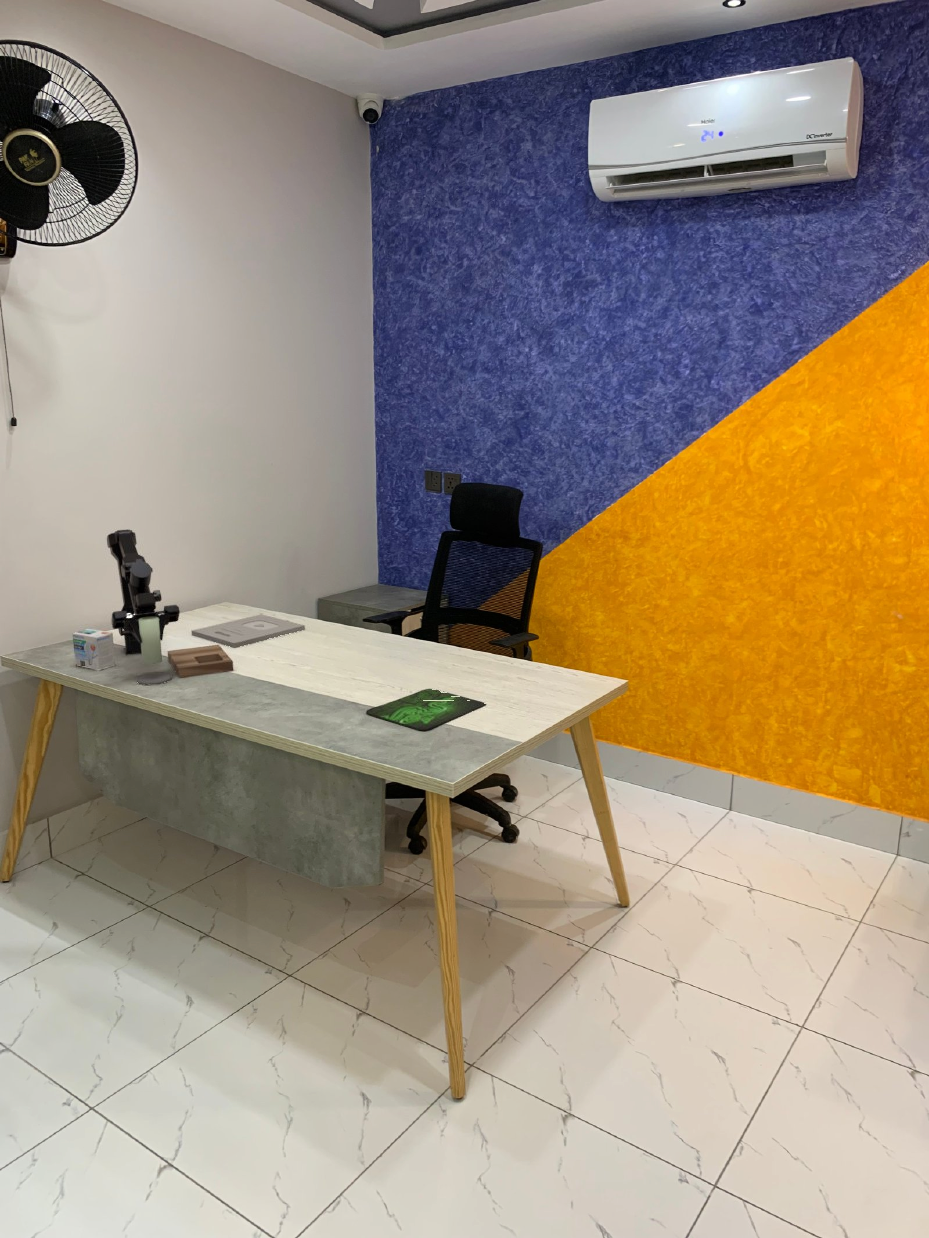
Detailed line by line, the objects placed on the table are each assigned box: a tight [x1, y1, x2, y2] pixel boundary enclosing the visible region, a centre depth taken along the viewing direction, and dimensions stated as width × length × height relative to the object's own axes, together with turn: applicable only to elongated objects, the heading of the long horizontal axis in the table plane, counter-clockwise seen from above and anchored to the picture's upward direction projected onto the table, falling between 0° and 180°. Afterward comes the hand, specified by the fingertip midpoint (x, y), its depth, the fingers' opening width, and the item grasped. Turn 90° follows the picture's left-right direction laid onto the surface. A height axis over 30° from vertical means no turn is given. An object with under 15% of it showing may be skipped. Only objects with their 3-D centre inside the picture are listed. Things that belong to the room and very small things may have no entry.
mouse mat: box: [365, 688, 487, 732], centre depth 246 cm, size 27×22×1 cm
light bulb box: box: [72, 628, 116, 670], centre depth 282 cm, size 11×7×11 cm, turn 62°
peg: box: [139, 616, 163, 665], centre depth 267 cm, size 6×6×13 cm
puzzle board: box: [166, 644, 234, 679], centre depth 284 cm, size 20×16×3 cm
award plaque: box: [191, 614, 306, 649], centre depth 321 cm, size 25×30×2 cm
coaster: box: [135, 671, 173, 686], centre depth 270 cm, size 10×10×1 cm
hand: (151, 641), depth 266 cm, fingers closed on peg, 5 cm apart
